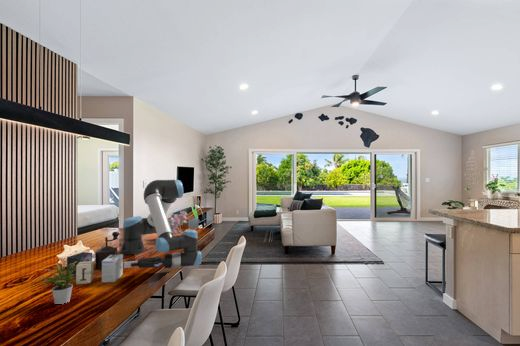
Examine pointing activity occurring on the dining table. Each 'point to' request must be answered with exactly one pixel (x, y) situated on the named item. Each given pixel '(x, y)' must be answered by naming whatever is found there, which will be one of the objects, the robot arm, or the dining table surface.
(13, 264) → the dining table surface
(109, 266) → the light bulb box
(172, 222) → the flower
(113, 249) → the manual coffee grinder
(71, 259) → the small box
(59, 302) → the house plant
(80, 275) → the beige block
